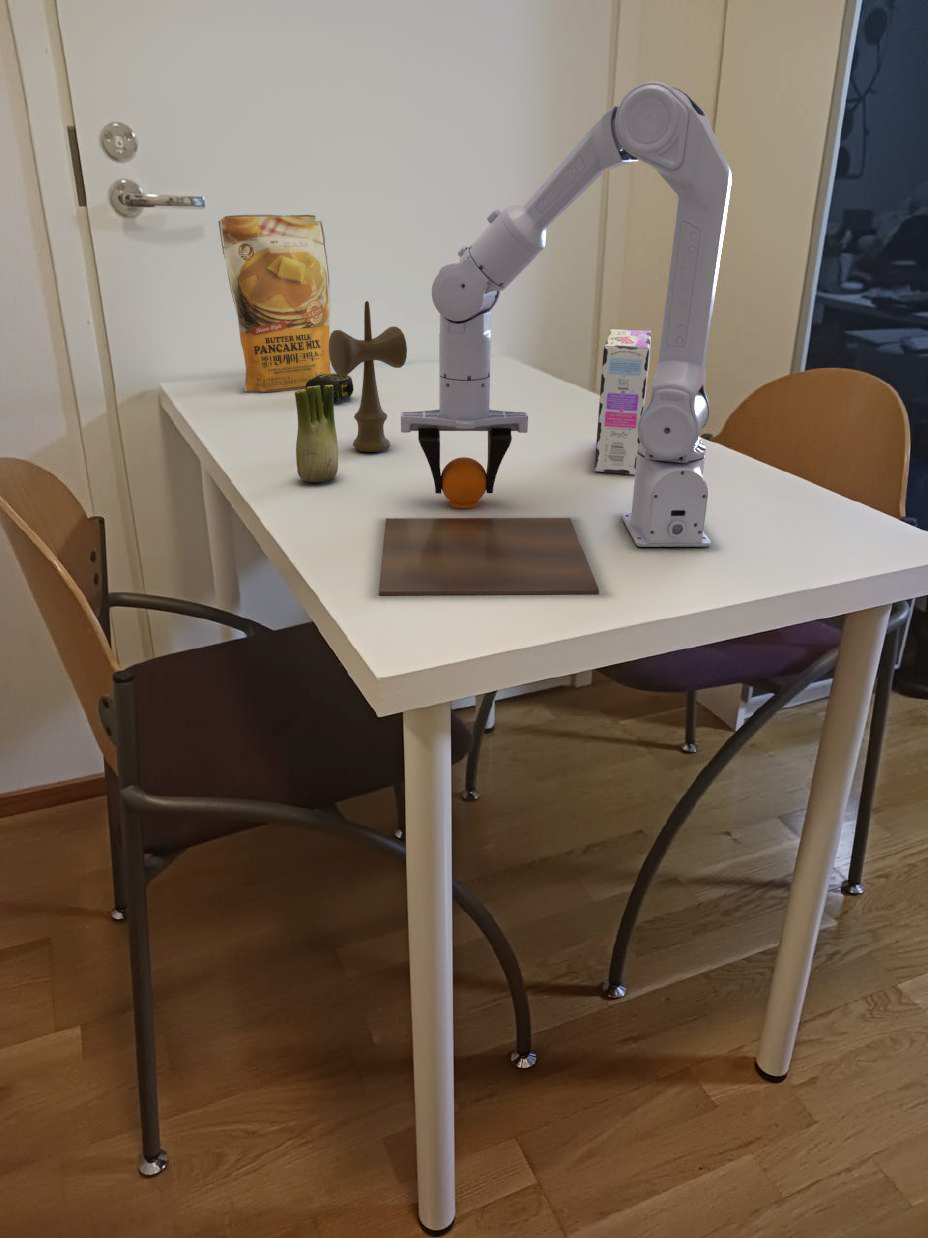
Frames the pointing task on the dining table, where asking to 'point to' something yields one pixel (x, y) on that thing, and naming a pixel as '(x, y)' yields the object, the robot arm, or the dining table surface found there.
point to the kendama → (368, 375)
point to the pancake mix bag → (279, 297)
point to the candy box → (622, 399)
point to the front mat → (483, 557)
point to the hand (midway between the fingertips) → (463, 490)
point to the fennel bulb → (316, 434)
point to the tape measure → (334, 385)
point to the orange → (463, 482)
